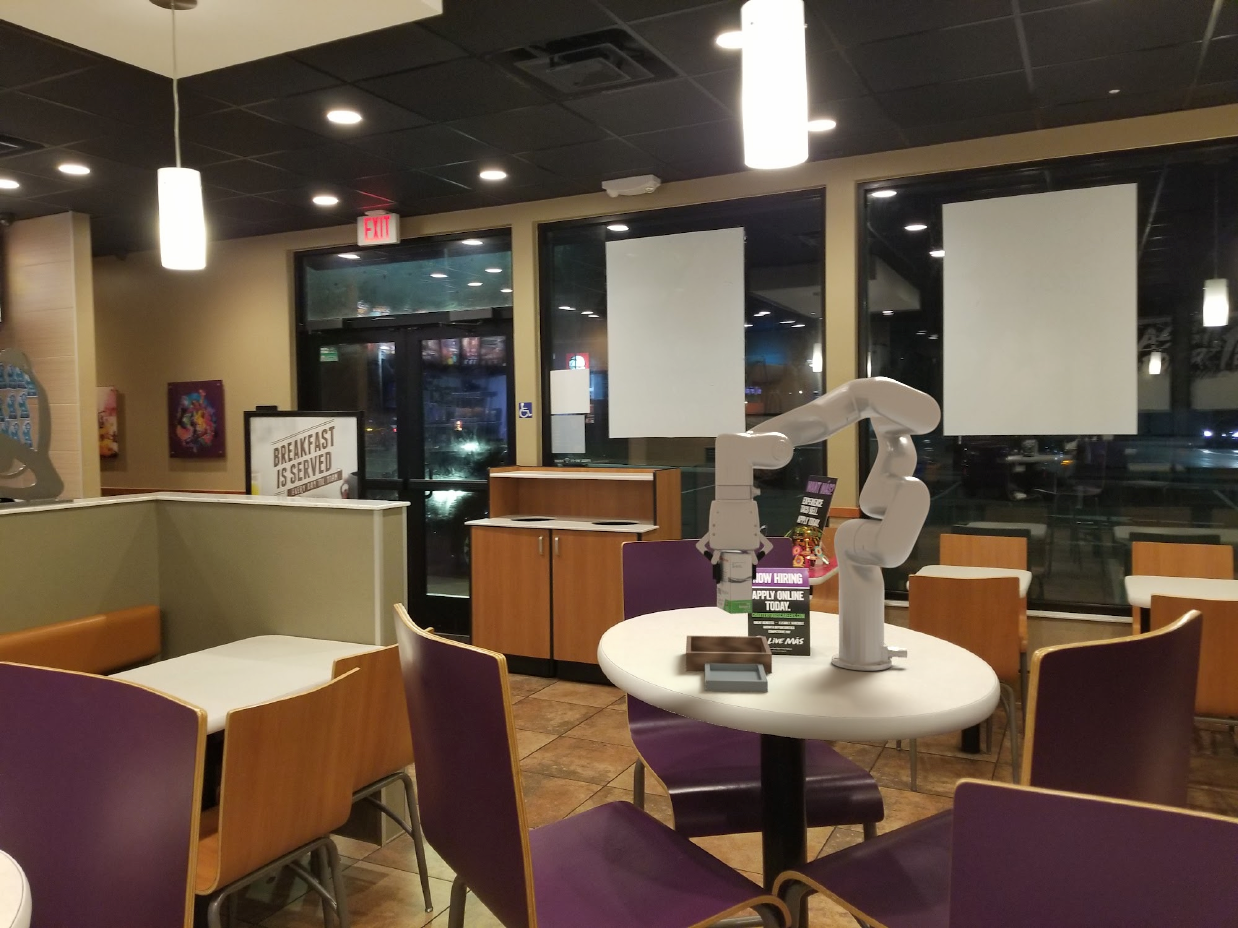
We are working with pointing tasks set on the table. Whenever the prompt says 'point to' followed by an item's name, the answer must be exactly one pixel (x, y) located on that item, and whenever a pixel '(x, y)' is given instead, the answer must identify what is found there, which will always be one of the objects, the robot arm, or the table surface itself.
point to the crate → (727, 651)
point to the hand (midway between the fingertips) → (734, 582)
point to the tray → (735, 677)
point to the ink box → (735, 582)
